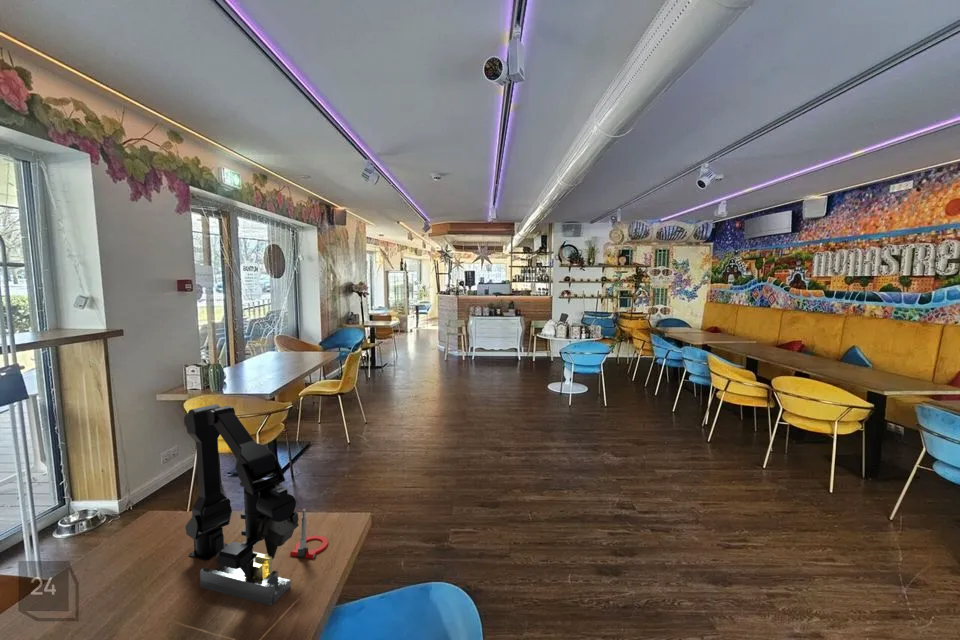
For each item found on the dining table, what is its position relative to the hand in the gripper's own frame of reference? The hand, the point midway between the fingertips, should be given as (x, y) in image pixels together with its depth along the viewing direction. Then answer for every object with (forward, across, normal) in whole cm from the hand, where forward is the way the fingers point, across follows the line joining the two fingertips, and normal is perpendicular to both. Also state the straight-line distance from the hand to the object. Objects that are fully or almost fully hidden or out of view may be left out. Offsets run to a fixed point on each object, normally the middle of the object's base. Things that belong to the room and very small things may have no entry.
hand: (261, 568), depth 95 cm
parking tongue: (+5, +6, +9) cm, 12 cm away
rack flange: (+4, -2, +3) cm, 5 cm away
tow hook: (+5, +15, -2) cm, 16 cm away
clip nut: (+2, -1, 0) cm, 3 cm away
